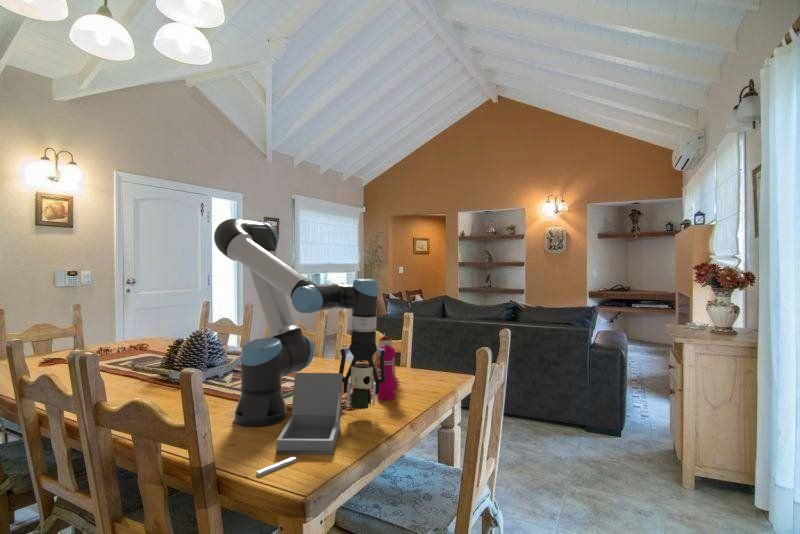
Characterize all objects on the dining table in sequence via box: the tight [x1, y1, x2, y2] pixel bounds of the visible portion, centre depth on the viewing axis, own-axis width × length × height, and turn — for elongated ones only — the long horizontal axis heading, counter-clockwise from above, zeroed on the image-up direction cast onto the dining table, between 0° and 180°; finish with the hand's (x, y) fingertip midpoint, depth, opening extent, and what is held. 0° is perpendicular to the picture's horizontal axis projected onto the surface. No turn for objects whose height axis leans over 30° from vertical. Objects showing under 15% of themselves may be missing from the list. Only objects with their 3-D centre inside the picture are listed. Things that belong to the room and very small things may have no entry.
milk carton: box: [373, 332, 397, 382], centre depth 173 cm, size 9×9×20 cm
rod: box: [255, 456, 297, 478], centre depth 102 cm, size 10×1×1 cm, turn 139°
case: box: [275, 372, 344, 455], centre depth 120 cm, size 14×22×15 cm, turn 1°
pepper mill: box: [376, 341, 397, 401], centre depth 154 cm, size 7×7×20 cm
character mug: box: [349, 362, 373, 410], centre depth 134 cm, size 11×7×13 cm, turn 152°
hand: (360, 403), depth 134 cm, fingers closed on character mug, 7 cm apart
